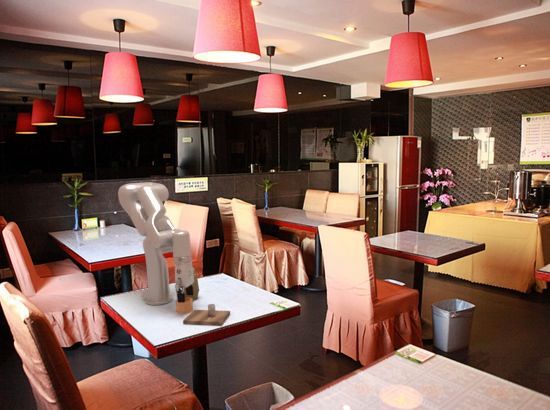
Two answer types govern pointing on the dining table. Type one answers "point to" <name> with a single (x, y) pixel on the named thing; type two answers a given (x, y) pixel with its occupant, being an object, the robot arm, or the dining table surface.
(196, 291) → the squeeze bottle
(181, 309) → the terracotta pot
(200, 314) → the hub board
